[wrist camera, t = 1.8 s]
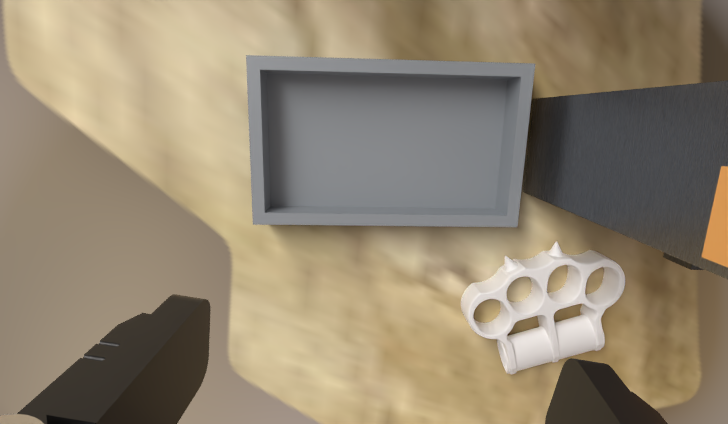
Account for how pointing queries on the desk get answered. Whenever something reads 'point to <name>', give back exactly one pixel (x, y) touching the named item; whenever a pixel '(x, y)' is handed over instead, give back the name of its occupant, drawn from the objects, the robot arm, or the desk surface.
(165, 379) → the robot arm
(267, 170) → the tray
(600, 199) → the cabinet
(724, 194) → the orange block
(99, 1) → the desk surface
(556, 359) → the white brass knuckles
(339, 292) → the desk surface
